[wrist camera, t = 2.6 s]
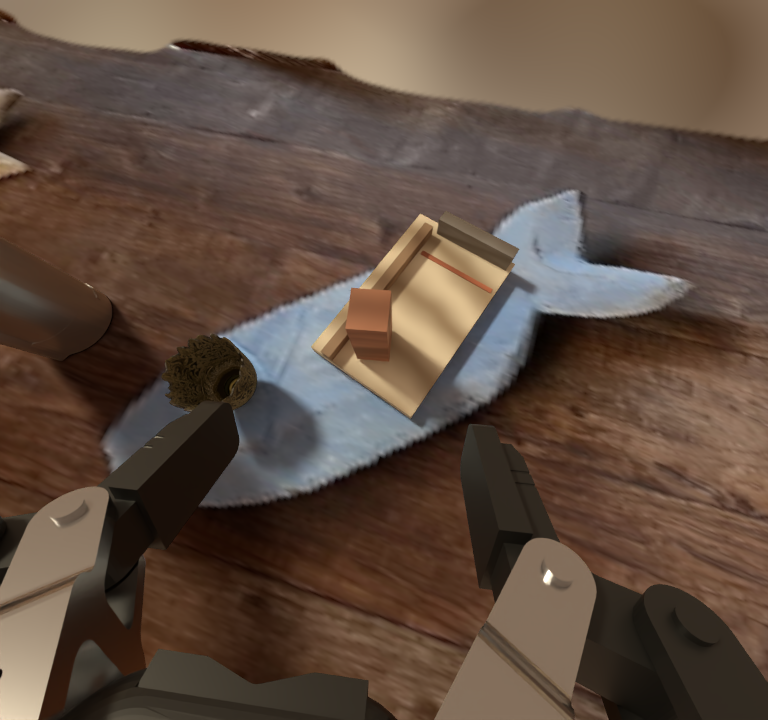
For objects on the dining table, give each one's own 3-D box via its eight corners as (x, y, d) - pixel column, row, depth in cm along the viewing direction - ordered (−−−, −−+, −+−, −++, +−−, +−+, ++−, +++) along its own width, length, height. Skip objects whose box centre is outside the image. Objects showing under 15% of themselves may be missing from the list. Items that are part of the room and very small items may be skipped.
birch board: (410, 418, 33) (412, 414, 30) (314, 351, 36) (304, 338, 33) (510, 271, 39) (523, 251, 35) (419, 222, 42) (421, 198, 38)
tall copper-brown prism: (389, 361, 34) (386, 331, 26) (357, 359, 34) (345, 328, 26) (392, 323, 35) (391, 283, 27) (362, 321, 35) (352, 281, 27)
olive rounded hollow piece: (207, 369, 36) (157, 346, 29) (267, 351, 37) (233, 323, 29) (216, 429, 34) (164, 422, 26) (279, 409, 34) (246, 396, 27)
